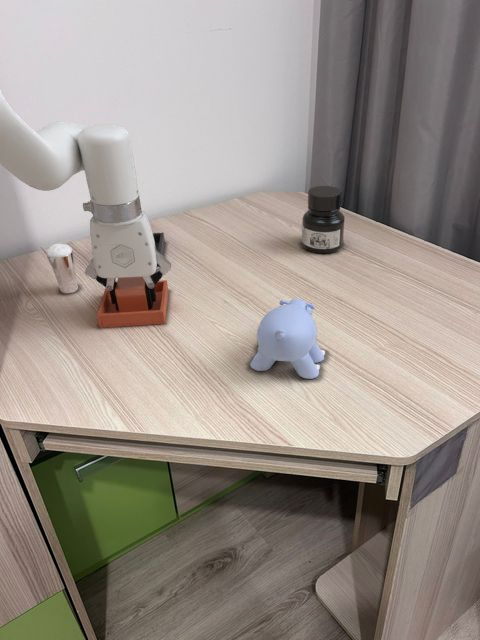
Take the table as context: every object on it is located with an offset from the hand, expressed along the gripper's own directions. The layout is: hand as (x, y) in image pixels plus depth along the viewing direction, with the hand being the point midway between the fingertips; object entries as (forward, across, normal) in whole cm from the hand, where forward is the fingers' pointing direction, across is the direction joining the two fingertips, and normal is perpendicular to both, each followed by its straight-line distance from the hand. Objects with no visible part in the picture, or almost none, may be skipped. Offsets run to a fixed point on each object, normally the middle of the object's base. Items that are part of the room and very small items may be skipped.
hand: (135, 304), depth 97 cm
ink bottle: (+1, +38, +22) cm, 44 cm away
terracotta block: (0, 0, 0) cm, 0 cm away
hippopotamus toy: (+1, +26, -17) cm, 31 cm away
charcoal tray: (+1, -2, +22) cm, 22 cm away
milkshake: (+1, -14, +8) cm, 16 cm away
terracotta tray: (+1, 0, 0) cm, 1 cm away
